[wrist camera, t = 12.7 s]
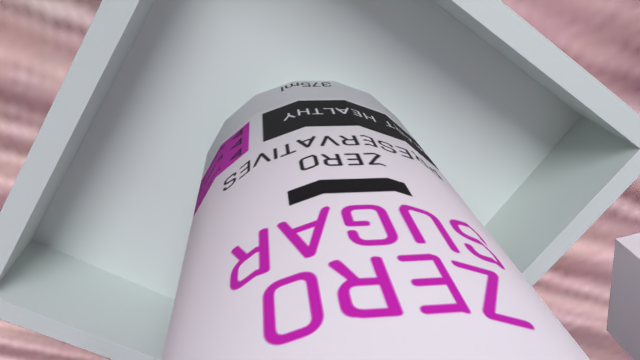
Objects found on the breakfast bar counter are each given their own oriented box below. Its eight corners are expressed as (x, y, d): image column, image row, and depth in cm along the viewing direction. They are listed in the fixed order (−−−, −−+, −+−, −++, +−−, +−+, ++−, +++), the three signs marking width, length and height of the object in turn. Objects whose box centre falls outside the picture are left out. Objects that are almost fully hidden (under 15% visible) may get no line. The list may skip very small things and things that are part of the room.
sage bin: (14, 232, 21) (-44, 303, 17) (226, -190, 16) (215, -235, 11) (353, 375, 27) (371, 453, 23) (593, 102, 21) (672, 141, 17)
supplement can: (275, 291, 22) (307, 819, 9) (162, 143, 19) (-67, 651, 5) (439, 205, 21) (749, 652, 8) (352, 32, 18) (646, 314, 4)
